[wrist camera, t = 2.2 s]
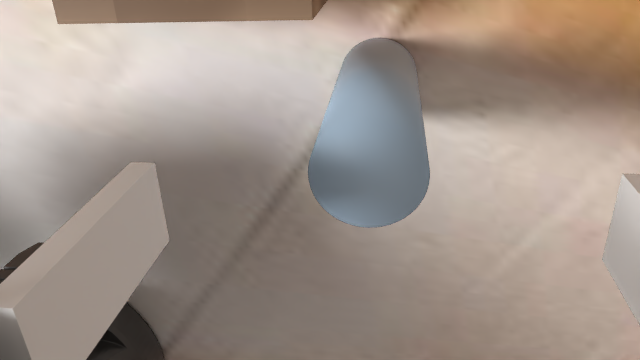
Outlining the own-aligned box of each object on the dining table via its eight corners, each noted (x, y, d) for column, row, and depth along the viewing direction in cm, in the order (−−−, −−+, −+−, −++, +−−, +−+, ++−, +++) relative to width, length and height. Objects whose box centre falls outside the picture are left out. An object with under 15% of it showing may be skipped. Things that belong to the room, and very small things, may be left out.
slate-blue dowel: (415, 112, 29) (426, 229, 18) (341, 112, 30) (310, 225, 19) (418, 37, 27) (433, 118, 17) (339, 38, 28) (305, 117, 17)
